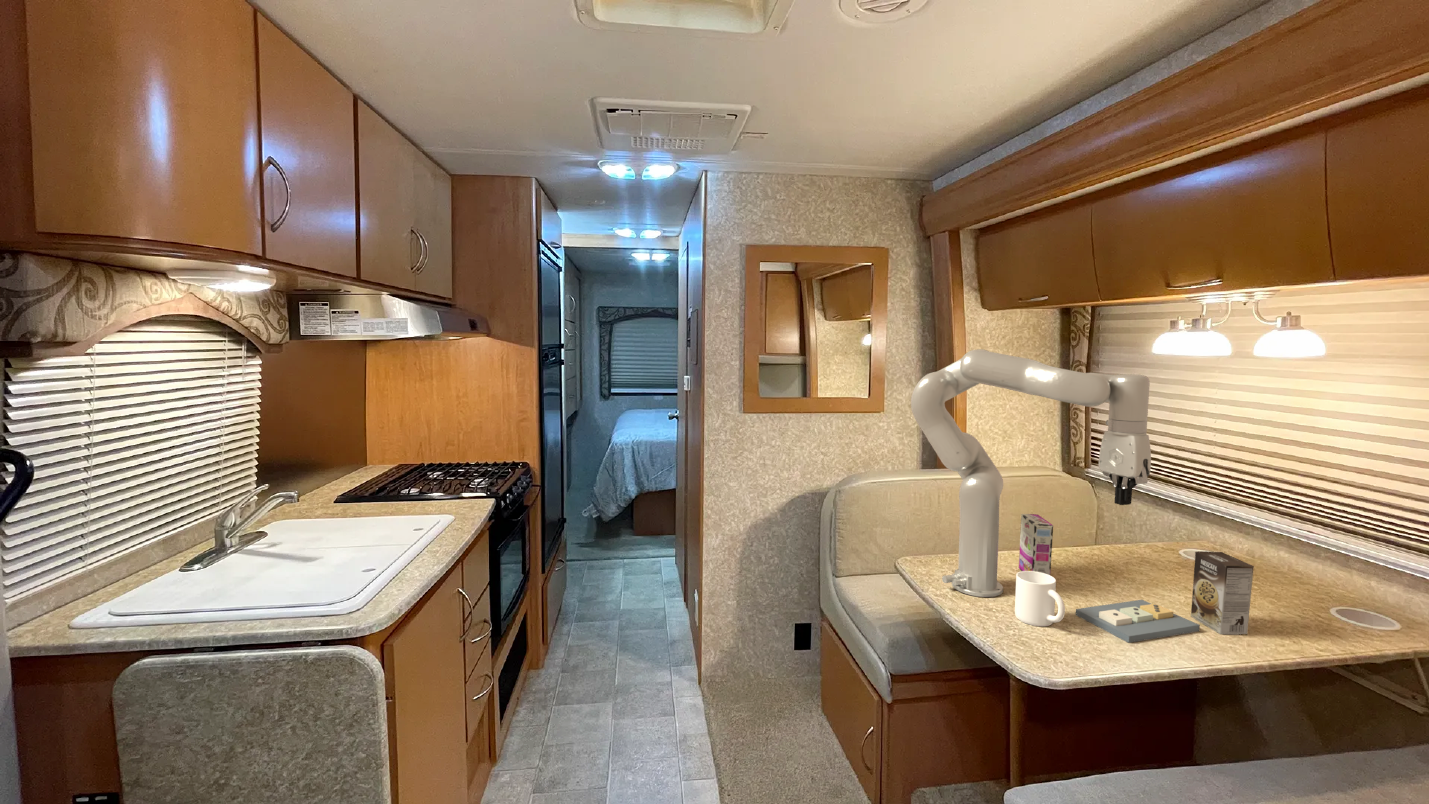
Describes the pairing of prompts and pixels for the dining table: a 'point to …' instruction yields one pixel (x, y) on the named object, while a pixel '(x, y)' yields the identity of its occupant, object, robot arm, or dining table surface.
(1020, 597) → the mug
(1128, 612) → the tile
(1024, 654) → the dining table surface
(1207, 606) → the coffee box
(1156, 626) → the board
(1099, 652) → the dining table surface
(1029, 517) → the candy bar box
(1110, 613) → the tile
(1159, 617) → the tile
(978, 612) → the dining table surface
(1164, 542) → the dining table surface
